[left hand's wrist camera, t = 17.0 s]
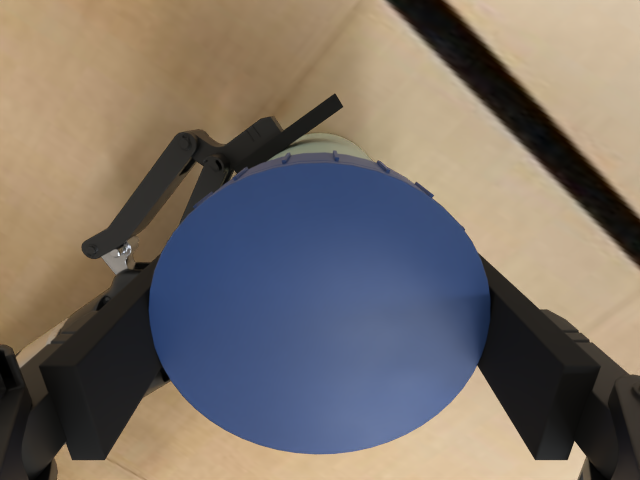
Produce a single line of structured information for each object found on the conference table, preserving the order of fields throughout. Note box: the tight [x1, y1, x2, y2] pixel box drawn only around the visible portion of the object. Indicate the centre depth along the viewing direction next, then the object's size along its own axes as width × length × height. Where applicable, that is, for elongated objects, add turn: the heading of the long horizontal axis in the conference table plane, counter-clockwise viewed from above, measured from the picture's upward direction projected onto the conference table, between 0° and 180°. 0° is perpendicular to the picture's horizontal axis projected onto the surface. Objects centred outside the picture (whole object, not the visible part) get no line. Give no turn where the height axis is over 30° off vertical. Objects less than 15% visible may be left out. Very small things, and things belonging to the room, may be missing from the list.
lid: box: [149, 150, 491, 454], centre depth 11 cm, size 10×10×2 cm
